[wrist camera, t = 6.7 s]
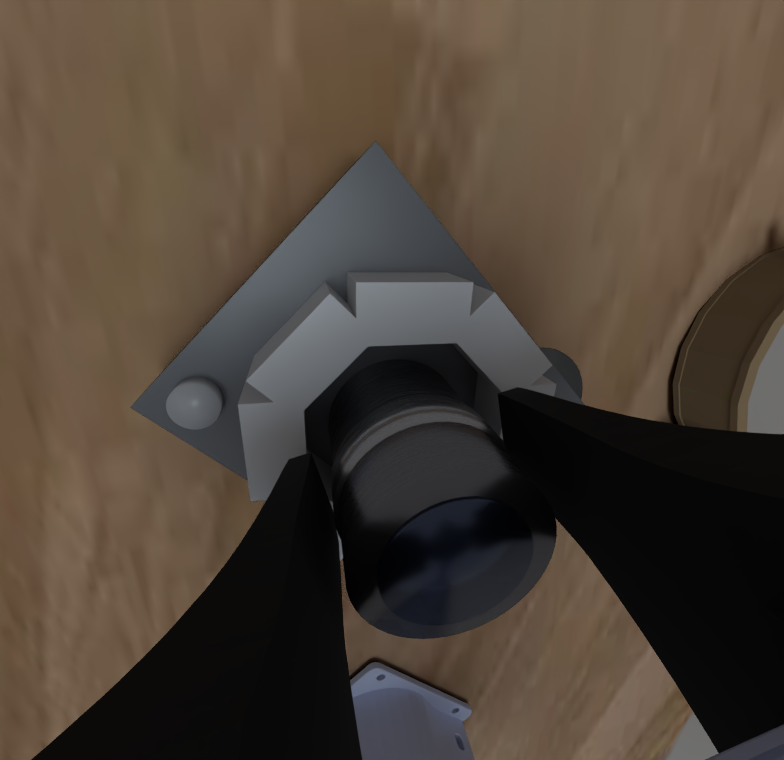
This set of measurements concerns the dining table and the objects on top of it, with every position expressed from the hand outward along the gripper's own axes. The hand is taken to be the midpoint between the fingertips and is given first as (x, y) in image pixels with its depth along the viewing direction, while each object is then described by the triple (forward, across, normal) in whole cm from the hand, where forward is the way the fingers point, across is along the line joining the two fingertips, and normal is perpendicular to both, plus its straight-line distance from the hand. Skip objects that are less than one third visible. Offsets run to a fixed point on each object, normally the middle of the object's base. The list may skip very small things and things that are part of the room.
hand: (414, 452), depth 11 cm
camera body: (+6, 0, 0) cm, 6 cm away
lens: (+3, 0, 0) cm, 3 cm away
